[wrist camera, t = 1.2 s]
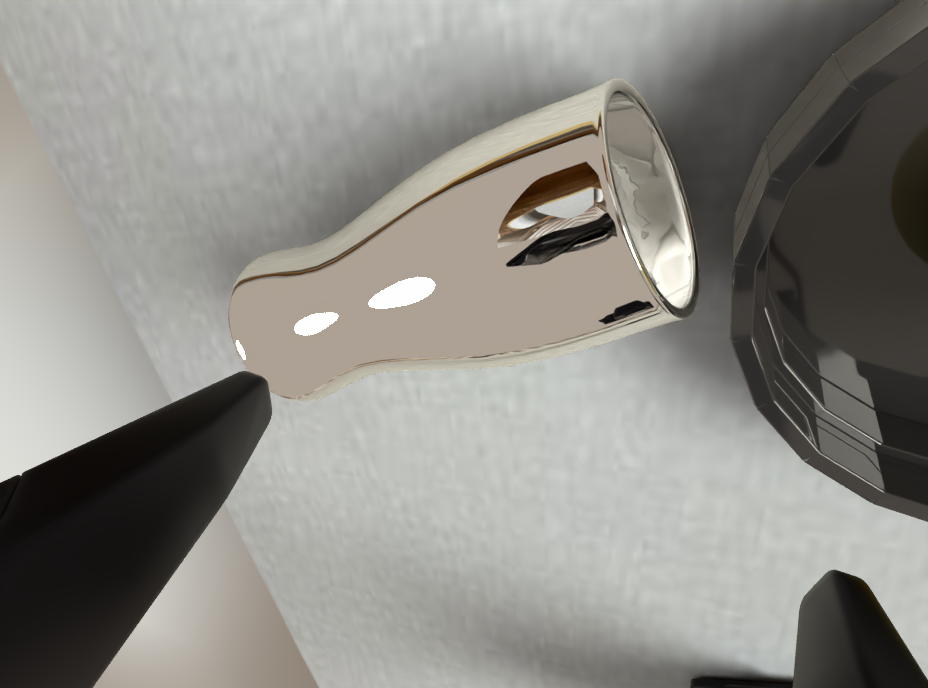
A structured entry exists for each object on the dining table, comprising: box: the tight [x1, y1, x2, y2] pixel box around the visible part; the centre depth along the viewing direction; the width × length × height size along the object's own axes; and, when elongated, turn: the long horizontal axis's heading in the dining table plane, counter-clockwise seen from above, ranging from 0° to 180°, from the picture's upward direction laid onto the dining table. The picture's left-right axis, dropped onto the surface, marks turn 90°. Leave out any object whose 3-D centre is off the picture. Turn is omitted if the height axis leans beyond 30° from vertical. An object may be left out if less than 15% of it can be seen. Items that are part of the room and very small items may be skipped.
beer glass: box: [229, 78, 700, 401], centre depth 21 cm, size 7×7×15 cm
